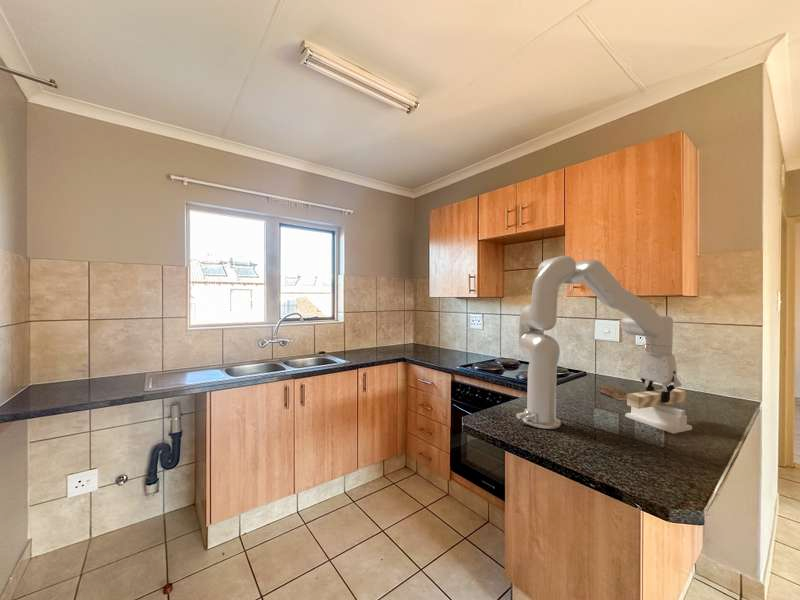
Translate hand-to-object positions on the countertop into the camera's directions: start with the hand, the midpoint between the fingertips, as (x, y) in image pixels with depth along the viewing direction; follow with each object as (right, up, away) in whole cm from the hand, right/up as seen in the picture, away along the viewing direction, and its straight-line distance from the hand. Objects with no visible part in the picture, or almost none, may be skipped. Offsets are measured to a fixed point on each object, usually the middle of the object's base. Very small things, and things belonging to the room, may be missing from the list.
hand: (657, 399), depth 118 cm
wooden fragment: (+8, -9, +37) cm, 39 cm away
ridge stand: (0, -8, 0) cm, 8 cm away
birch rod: (0, -1, 0) cm, 1 cm away
